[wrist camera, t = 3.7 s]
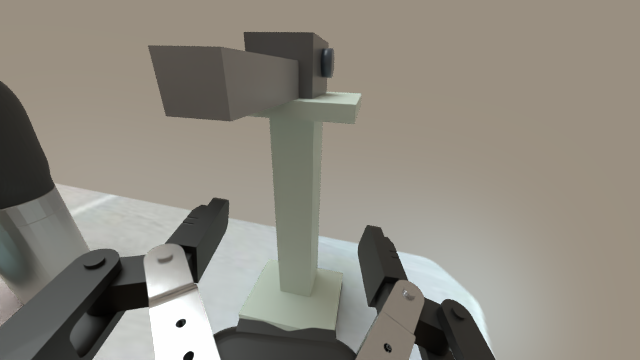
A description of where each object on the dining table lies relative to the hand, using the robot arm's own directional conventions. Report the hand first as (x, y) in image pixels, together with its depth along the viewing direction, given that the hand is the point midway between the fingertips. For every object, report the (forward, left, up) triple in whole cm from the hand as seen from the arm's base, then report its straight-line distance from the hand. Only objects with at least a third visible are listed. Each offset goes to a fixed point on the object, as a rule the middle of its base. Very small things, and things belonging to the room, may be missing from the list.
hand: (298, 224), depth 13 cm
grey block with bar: (-4, +8, +6) cm, 11 cm away
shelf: (-5, +14, -26) cm, 30 cm away
